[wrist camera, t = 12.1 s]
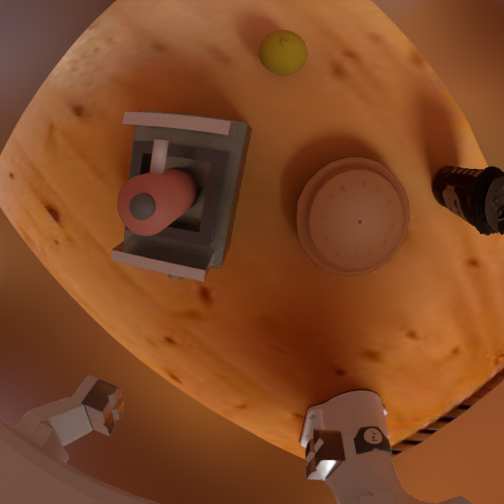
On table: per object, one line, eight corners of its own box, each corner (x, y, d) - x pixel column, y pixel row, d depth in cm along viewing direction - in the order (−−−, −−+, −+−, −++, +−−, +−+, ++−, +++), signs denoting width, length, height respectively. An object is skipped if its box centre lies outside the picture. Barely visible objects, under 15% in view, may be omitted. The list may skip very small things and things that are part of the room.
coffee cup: (451, 224, 36) (503, 252, 24) (417, 198, 35) (470, 220, 23) (472, 178, 33) (528, 193, 21) (440, 148, 33) (497, 154, 20)
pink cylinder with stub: (196, 215, 30) (167, 243, 21) (154, 207, 30) (112, 232, 21) (207, 145, 27) (180, 142, 18) (163, 139, 27) (121, 136, 18)
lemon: (285, 89, 32) (290, 72, 24) (251, 65, 31) (247, 43, 23) (311, 61, 30) (322, 40, 23) (277, 38, 29) (280, 12, 22)
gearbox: (225, 272, 41) (208, 322, 28) (146, 255, 40) (105, 296, 28) (251, 129, 34) (243, 116, 22) (163, 117, 34) (116, 105, 21)
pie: (374, 138, 33) (389, 137, 29) (410, 237, 38) (426, 248, 33) (272, 186, 36) (274, 191, 32) (320, 282, 41) (326, 299, 36)
